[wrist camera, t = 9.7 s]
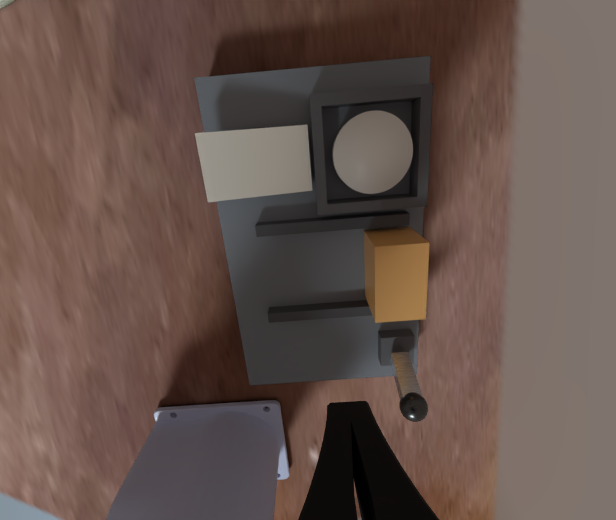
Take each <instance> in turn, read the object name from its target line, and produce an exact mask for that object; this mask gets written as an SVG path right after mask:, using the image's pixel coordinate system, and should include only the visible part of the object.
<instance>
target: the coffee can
mask: <svg viewBox="0 0 616 520" xmlns="http://www.w3.org/2000/svg"><path fill="white" fill-rule="evenodd" d="M14 1H15V0H0V9H2V8H4V7H6V6H7V5H9V4H11V3H12V2H14Z"/></svg>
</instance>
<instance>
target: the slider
mask: <svg viewBox="0 0 616 520" xmlns="http://www.w3.org/2000/svg"><path fill="white" fill-rule="evenodd" d="M429 244H430V243H429V242H428V241H427V240H426V239H424V238H423V237H422V236H421V235H419V234H418V233H417V232H416V231H414V230H413V229H412V228H411V227H399V228H386V229H373V230H364V265H365V297H366V299H367V302H368V305H369V307H370V310H371V313H372V315H373V318H374V320H375V323H380V322H394V321H408V320H421V319H426V302H427V283H428V263H429Z"/></svg>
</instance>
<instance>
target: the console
mask: <svg viewBox="0 0 616 520" xmlns="http://www.w3.org/2000/svg"><path fill="white" fill-rule="evenodd" d="M430 59H431V56H423V57H412V58H402V59H391V60H380V61H370V62H359V63H348V64H338V65H327V66H316V67H305V68H295V69H284V70H273V71H263V72H252V73H241V74H230V75H220V76H209V77H198V78H194V79H195V85H196V90H197V96H198V101H199V107H200V112H201V118H202V123H203V129H204V133H205V132H218V131H231V130H244V129H257V128H270V127H283V126H296V125H307V126H308V140H309V153H310V166H311V179H312V191H304V192H296V193H287V194H278V195H269V196H260V197H251V198H242V199H233V200H225V201H217V207H218V212H219V218H220V223H221V229H222V234H223V240H224V246H225V251H226V257H227V262H228V268H229V273H230V279H231V284H232V290H233V296H234V301H235V307H236V312H237V318H238V323H239V329H240V334H241V340H242V346H243V351H244V357H245V362H246V368H247V373H248V379H249V384H250V385H264V384H279V383H294V382H309V381H324V380H339V379H353V378H368V377H383V376H394V374H393V370H392V366H391V362H390V358H391V353H399V352H409V355H410V358H411V361H412V365H413V368H414V371H415V374H417V354H418V332H419V320H408V321H394V322H380V323H375V320H374V318H373V315H372V313H371V310H370V307H369V305H368V302H367V299H366V297H365V265H364V230H373V229H386V228H399V227H411V228H412V229H413V230H414V231H416V232H417V233H418V234H419V235H421V236H422V237H423V218H424V207H427V200H428V179H429V158H430V137H431V116H432V95H433V83H430V84H429V82H430ZM376 110H379V111H385V112H388V113H391V114H393V115H395V116H396V117H398V118H399V119H400V120H401V121H402V122H403V123H404V124H405V125H406V127H407V129H408V130H409V133H410V135H411V138H412V143H413V156H412V161H411V164H410V167H409V169H408V171H407V172H406V174H405V176H404V177H403V178H402V179H401V180H400V181H399V182H398V183H397V184H396V185H395V186H393V187H392V188H390V189H388V190H386V191H384V192H380V193H375V194H366V193H361V192H358V191H355V190H353V189H352V188H350V187H349V186H347V185H346V184H345V183H344V182H343V181H342V180H341V179H340V177H339V176H338V175H337V173H336V171H335V169H334V166H333V163H332V156H331V152H332V145H333V141H334V139H335V136H336V134H337V133H338V131H339V130H340V128H341V127H342V126H343V125H344V124H345V123H346V122H347V121H349V120H350V119H352V118H353V117H355V116H357V115H359V114H361V113H364V112H367V111H376Z"/></svg>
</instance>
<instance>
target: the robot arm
mask: <svg viewBox="0 0 616 520" xmlns="http://www.w3.org/2000/svg"><path fill="white" fill-rule="evenodd" d="M265 407H269V408H265ZM174 413H176V414H174ZM154 418H155V421H156V423H155V425H154V427H153V429H152V431H151V432H150V434H149V436H148V438H147V440H146V442H145V444H144V445H143V447H142V449H141V451H140V453H139V455H138V456H137V458H136V460H135V462H134V464H133V466H132V467H131V469H130V471H129V473H128V475H127V477H126V478H125V480H124V482H123V484H122V486H121V488H120V489H119V491H118V493H117V495H116V497H115V499H114V501H113V503H112V505H111V508H110V510H109V513H108V516H107V519H106V520H274V510H275V499H276V488H277V480H279V479H286V478H288V477H289V473H290V470H289V463H288V456H287V449H286V442H285V435H284V428H283V421H282V414H281V407H280V403H279V402H278V401H276V400H265V401H250V402H235V403H220V404H204V405H189V406H174V407H160V408H157V409H156V411H155V413H154ZM353 477H354V478H353ZM354 483H355V488H356V493H357V498H358V503H359V508H360V513H361V518H362V520H439V519H438V518H437V516H436V515H435V514H434V512H433V511H432V510H431V508H430V507H429V506H428V504H427V503H426V501H425V500H424V499H423V497H422V496H421V495H420V493H419V492H418V490H417V489H416V487H415V486H414V484H413V483H412V481H411V480H410V478H409V477H408V475H407V474H406V472H405V471H404V469H403V468H402V466H401V465H400V463H399V461H398V460H397V458H396V456H395V455H394V453H393V451H392V450H391V448H390V446H389V445H388V443H387V441H386V439H385V438H384V436H383V434H382V432H381V430H380V428H379V426H378V424H377V422H376V420H375V418H374V416H373V414H372V411H371V409H370V406H369V404H368V403H367V402H366V401H356V402H338V403H330V404H329V405H328V406H327V421H326V428H325V433H324V438H323V443H322V447H321V451H320V455H319V459H318V463H317V466H316V469H315V473H314V476H313V479H312V482H311V486H310V489H309V492H308V495H307V497H306V500H305V503H304V506H303V509H302V511H301V514H300V516H299V519H298V520H357V513H356V505H355V498H354Z"/></svg>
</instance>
